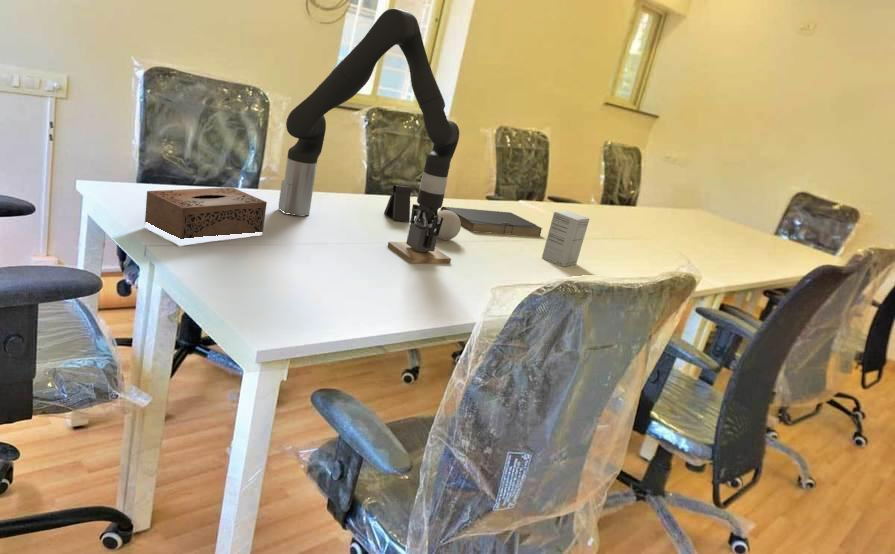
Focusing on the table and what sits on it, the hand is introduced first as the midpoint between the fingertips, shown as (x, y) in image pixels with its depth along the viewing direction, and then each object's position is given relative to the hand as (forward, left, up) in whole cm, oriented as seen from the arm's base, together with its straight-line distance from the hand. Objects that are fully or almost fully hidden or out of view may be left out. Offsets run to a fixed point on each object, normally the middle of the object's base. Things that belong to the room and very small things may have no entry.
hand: (420, 243), depth 188 cm
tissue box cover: (-58, +15, -4) cm, 60 cm away
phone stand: (+13, +38, -4) cm, 40 cm away
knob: (0, 0, -1) cm, 1 cm away
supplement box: (+55, -4, -4) cm, 55 cm away
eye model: (+19, +16, -4) cm, 25 cm away
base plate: (0, 0, -4) cm, 4 cm away
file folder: (+55, +37, -4) cm, 66 cm away
